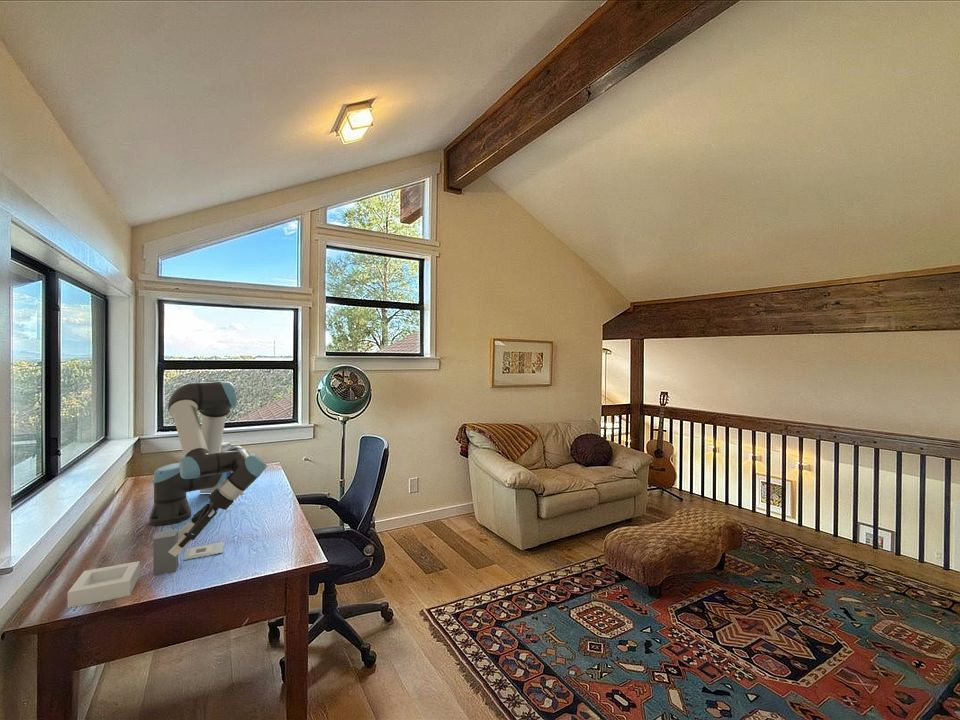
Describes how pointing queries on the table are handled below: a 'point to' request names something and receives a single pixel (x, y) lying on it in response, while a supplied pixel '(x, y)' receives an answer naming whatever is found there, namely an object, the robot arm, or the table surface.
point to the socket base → (104, 584)
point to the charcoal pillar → (164, 552)
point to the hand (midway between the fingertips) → (174, 546)
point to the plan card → (203, 550)
